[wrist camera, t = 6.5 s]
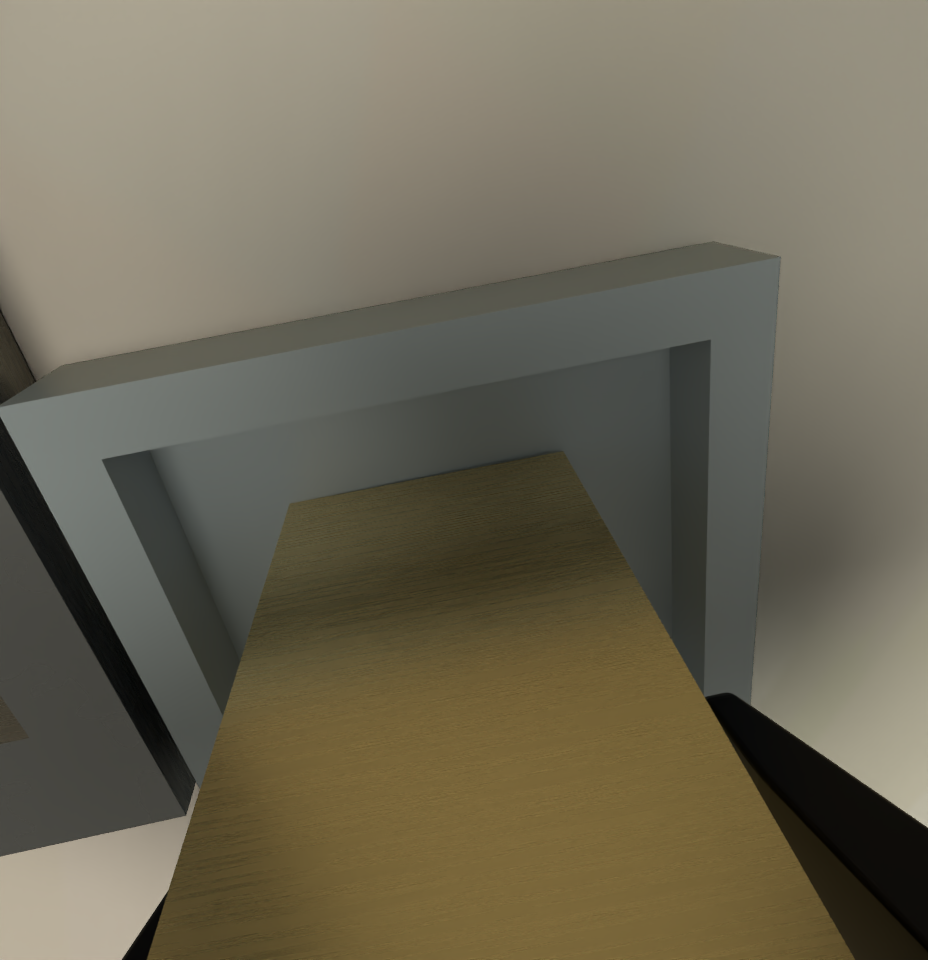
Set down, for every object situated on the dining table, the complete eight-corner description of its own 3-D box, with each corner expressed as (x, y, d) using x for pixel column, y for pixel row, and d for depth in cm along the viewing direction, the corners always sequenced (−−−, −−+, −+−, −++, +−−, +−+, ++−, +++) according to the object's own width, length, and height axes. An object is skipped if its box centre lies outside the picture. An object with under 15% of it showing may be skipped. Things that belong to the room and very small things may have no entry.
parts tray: (713, 241, 11) (780, 256, 9) (703, 704, 16) (745, 773, 14) (60, 366, 10) (-5, 407, 9) (265, 800, 15) (251, 884, 14)
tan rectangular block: (562, 451, 11) (890, 1023, 4) (584, 658, 14) (816, 1272, 6) (289, 503, 11) (75, 1188, 4) (356, 702, 14) (306, 1377, 6)
